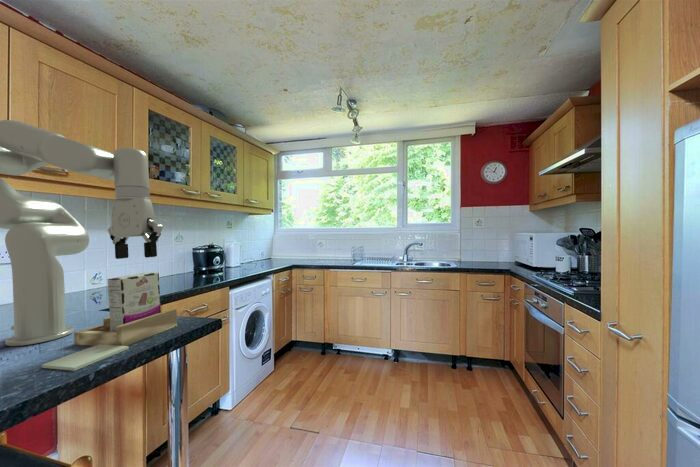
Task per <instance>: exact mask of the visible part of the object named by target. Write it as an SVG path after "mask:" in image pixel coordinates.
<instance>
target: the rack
mask: <svg viewBox="0 0 700 467" xmlns="http://www.w3.org/2000/svg"><path fill="white" fill-rule="evenodd" d="M177 319H178V312H177V308H171V309H168V310H164V311H161V313H158V314H155V315H151V316H148V317H145V318H142V319H139V320H136V321H132V322H129V323H126V324H123V325H120V326H117V327H116V330H117V332H102V331H99V329H100V328H103V327H104V324H103V323H101V324H98V325H95V326H91V327H89V328H85V329H81V330H79V331H75V332H74V331H73V341H74V345H78V346H90V347H93V346H96V345H99V344H101V345H117V346H130V345H133V344H135V343H137V342H140V341H143V340H145V339H148V338H150V337H152V336H155V335H158V334H160V333H163V332H166V331H168V330H171V329H173V328H176V327H178V320H177ZM175 326H176V327H175Z"/></svg>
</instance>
